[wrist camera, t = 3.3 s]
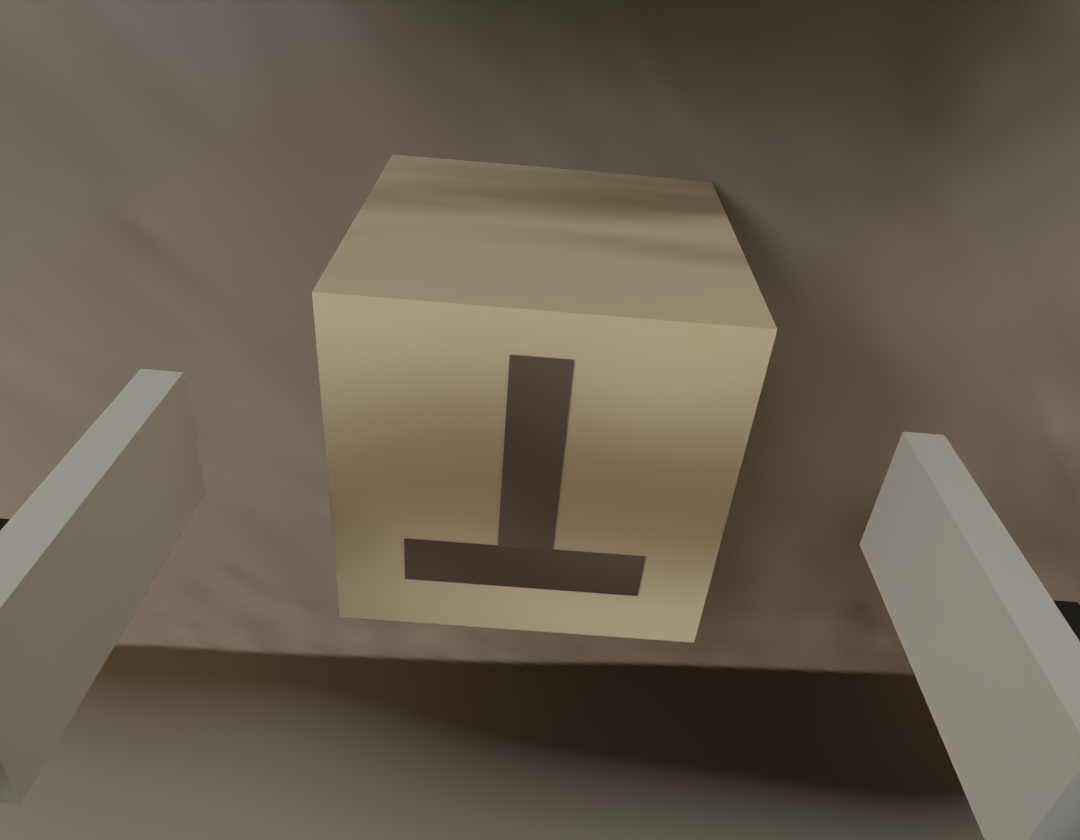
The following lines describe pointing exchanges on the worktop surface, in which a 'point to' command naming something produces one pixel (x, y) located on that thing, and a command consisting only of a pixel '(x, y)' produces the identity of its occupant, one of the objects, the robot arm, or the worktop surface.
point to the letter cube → (536, 397)
